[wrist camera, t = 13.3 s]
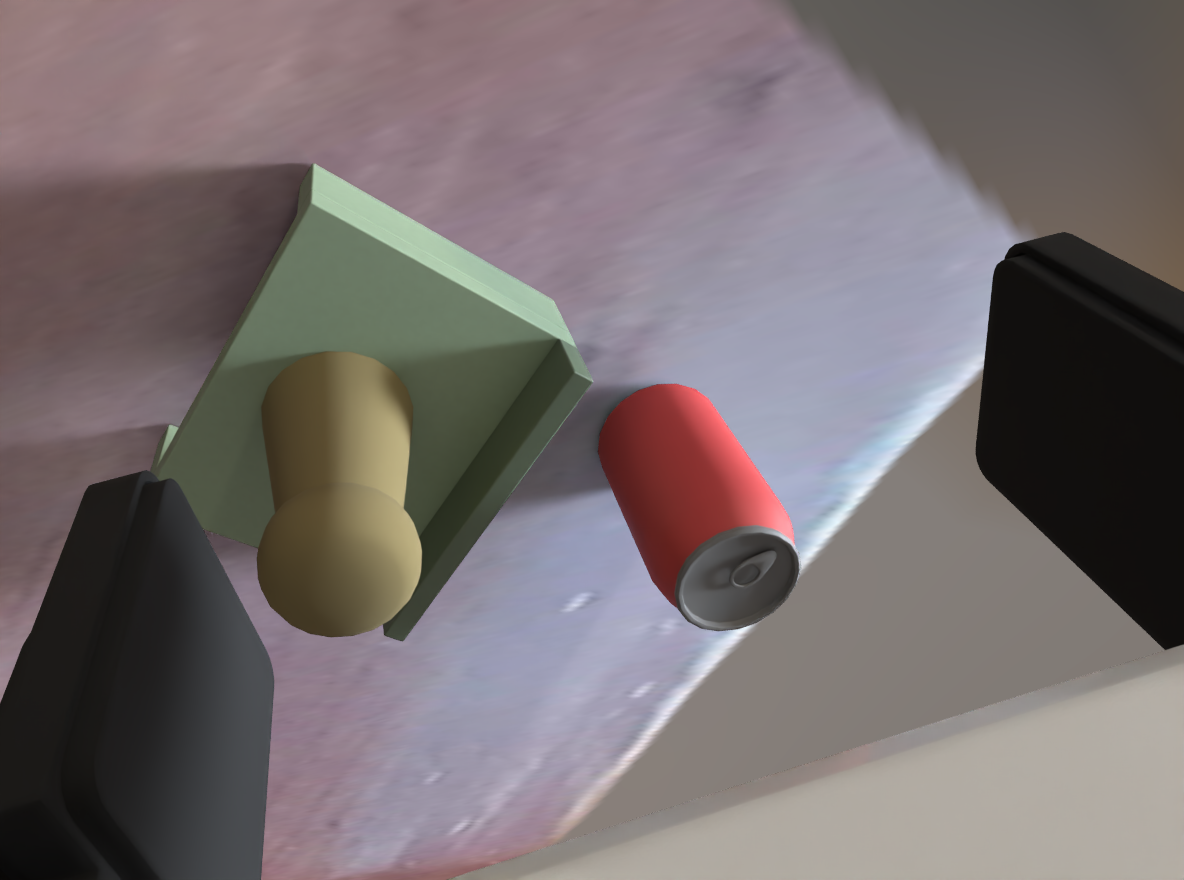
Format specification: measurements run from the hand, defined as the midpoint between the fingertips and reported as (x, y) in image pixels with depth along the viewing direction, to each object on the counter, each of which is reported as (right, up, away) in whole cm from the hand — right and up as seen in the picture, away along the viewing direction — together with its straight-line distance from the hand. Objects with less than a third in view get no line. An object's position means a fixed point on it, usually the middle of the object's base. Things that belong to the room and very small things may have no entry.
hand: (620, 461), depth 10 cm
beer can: (+3, +1, +38) cm, 38 cm away
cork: (-11, +1, +27) cm, 29 cm away
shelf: (-11, +3, +32) cm, 34 cm away
